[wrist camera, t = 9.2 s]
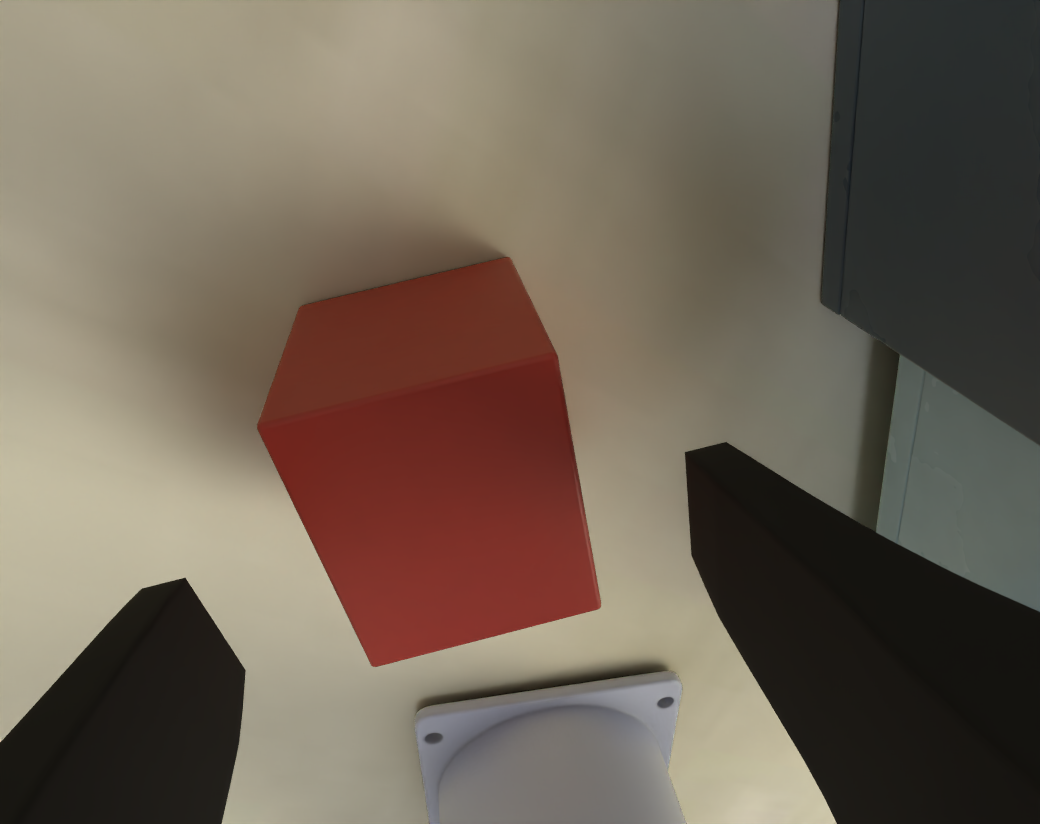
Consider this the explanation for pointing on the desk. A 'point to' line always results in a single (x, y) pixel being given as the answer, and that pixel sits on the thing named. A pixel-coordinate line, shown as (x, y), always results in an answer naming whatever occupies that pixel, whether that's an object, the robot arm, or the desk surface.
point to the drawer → (961, 488)
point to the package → (433, 460)
